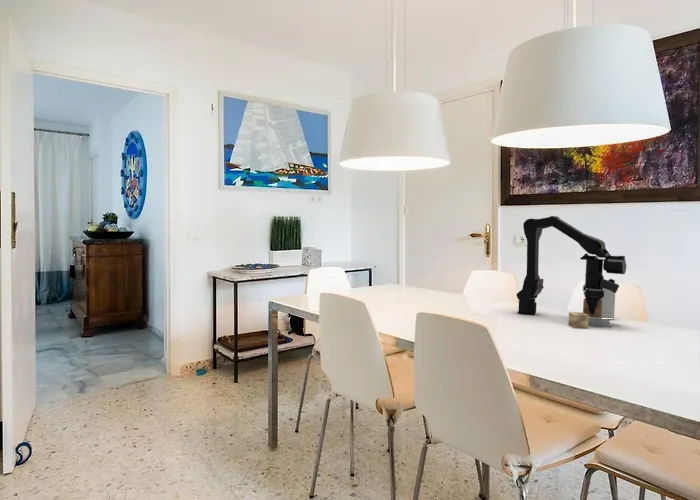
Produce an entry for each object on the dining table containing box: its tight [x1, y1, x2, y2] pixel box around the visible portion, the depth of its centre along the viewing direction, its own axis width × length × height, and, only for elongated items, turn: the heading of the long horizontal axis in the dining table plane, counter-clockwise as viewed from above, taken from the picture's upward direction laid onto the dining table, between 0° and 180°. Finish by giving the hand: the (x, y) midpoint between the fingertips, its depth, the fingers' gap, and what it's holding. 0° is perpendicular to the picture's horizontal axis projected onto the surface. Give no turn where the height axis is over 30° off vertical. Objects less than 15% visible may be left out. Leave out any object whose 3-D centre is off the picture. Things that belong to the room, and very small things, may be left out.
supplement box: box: [594, 288, 616, 320], centre depth 190 cm, size 7×7×13 cm
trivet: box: [588, 317, 612, 328], centre depth 179 cm, size 12×12×1 cm
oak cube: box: [567, 311, 589, 329], centre depth 171 cm, size 5×5×5 cm
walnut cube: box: [582, 298, 602, 318], centre depth 179 cm, size 6×6×6 cm
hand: (591, 312), depth 179 cm, fingers closed on walnut cube, 6 cm apart
